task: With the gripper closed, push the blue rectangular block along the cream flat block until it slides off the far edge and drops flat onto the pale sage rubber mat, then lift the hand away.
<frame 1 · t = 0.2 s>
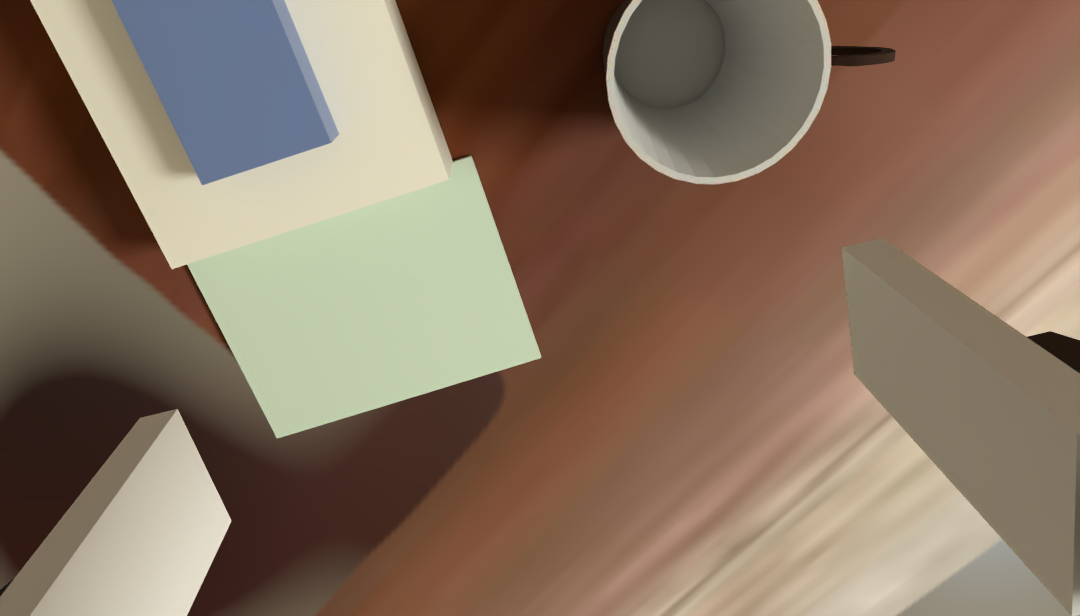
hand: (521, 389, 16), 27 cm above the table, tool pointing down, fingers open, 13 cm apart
coffee mug: (692, 61, 40), on the table
cream flat block: (258, 48, 39), on the table
blue rectangular block: (233, 56, 35), point 4 cm above the table, touching cream flat block
mat: (368, 304, 44), on the table
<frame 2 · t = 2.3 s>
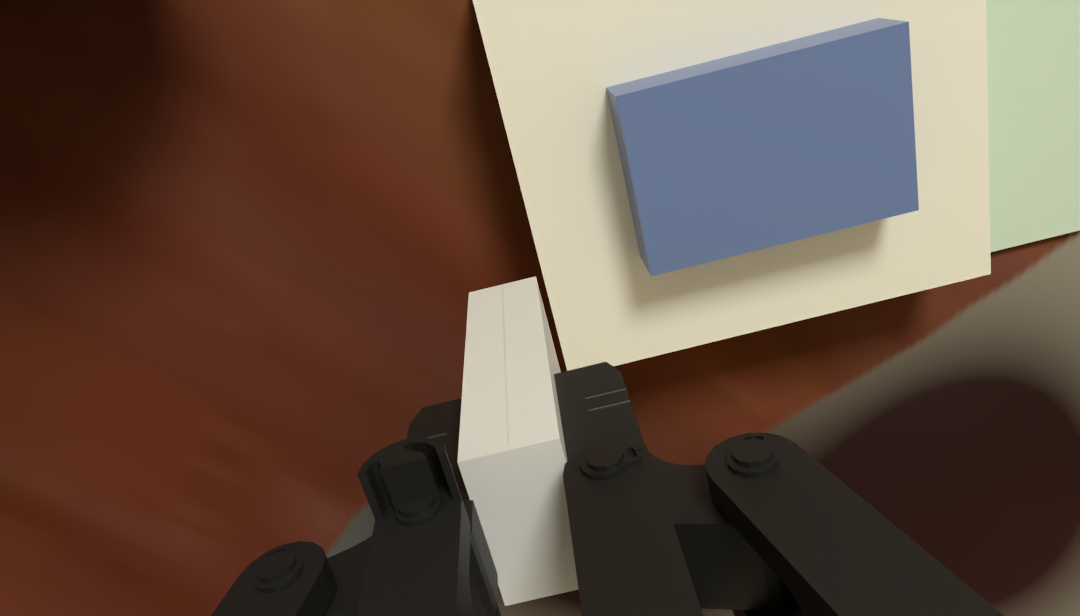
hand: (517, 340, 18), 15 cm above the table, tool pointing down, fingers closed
cream flat block: (721, 122, 31), on the table
blue rectangular block: (753, 143, 27), point 4 cm above the table, touching cream flat block
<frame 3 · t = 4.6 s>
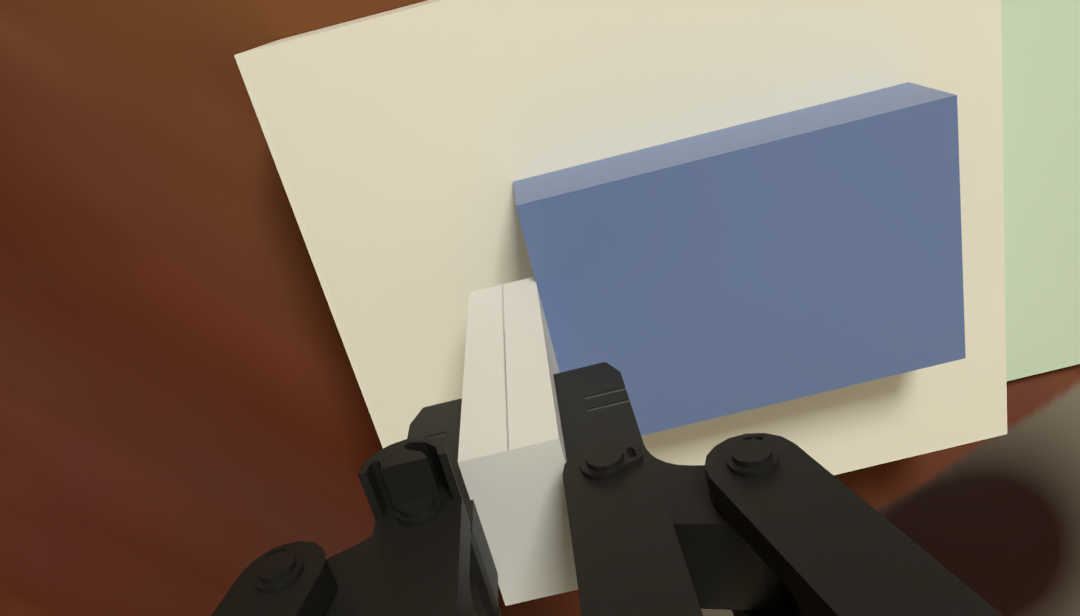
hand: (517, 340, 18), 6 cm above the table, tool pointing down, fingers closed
cream flat block: (640, 220, 23), on the table
blue rectangular block: (728, 255, 19), point 4 cm above the table, touching cream flat block, gripper
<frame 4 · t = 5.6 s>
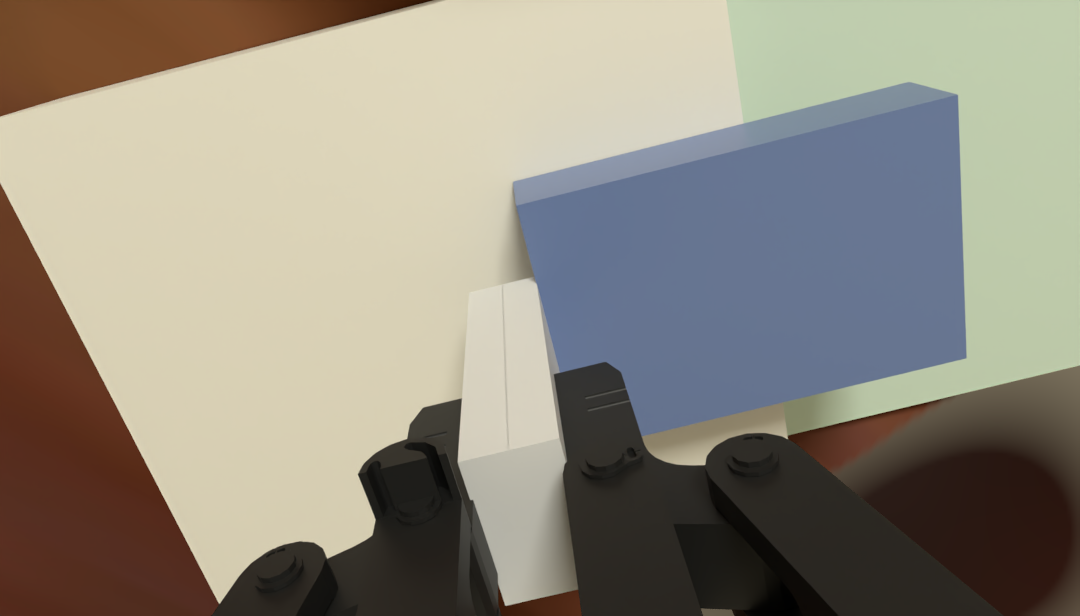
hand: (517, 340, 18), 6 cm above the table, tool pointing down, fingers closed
cream flat block: (442, 271, 23), on the table
blue rectangular block: (728, 256, 19), point 4 cm above the table, touching gripper
mat: (926, 149, 23), on the table
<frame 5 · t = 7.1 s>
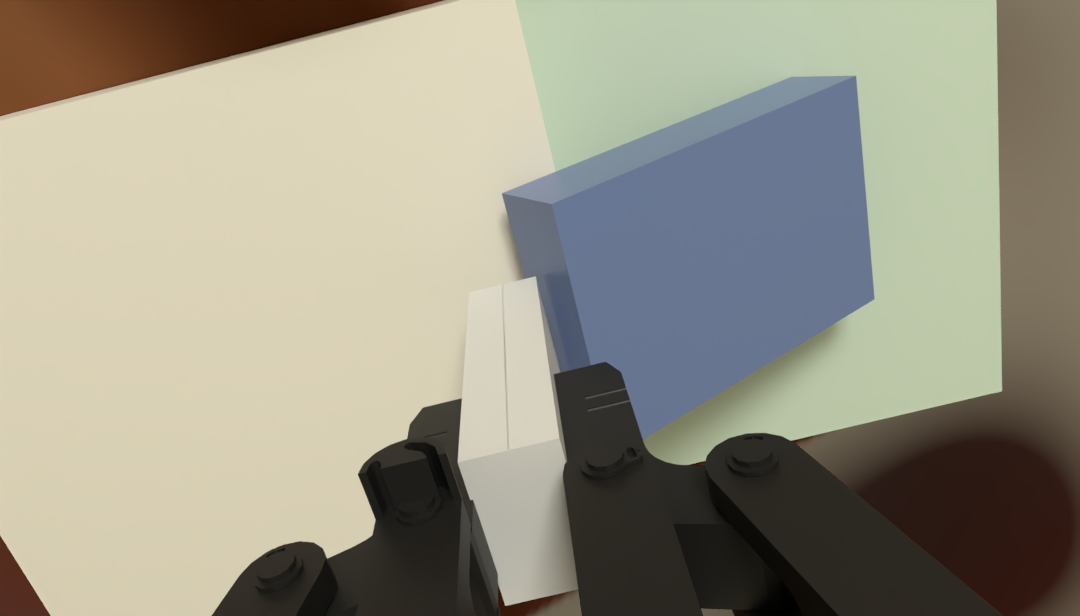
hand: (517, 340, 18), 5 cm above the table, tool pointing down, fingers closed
cream flat block: (297, 310, 23), on the table
blue rectangular block: (681, 245, 20), point 2 cm above the table, tilted 29°, touching cream flat block, gripper, mat
mat: (778, 191, 23), on the table
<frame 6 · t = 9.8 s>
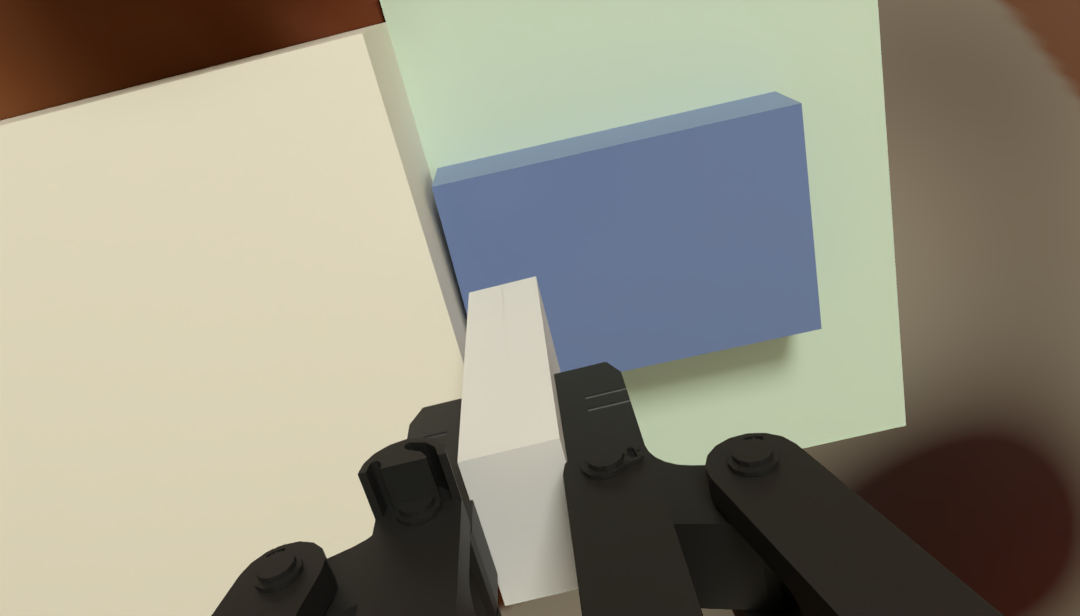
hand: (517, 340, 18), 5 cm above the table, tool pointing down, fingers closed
cream flat block: (193, 341, 23), on the table
blue rectangular block: (624, 237, 22), resting on mat
mat: (670, 227, 23), on the table
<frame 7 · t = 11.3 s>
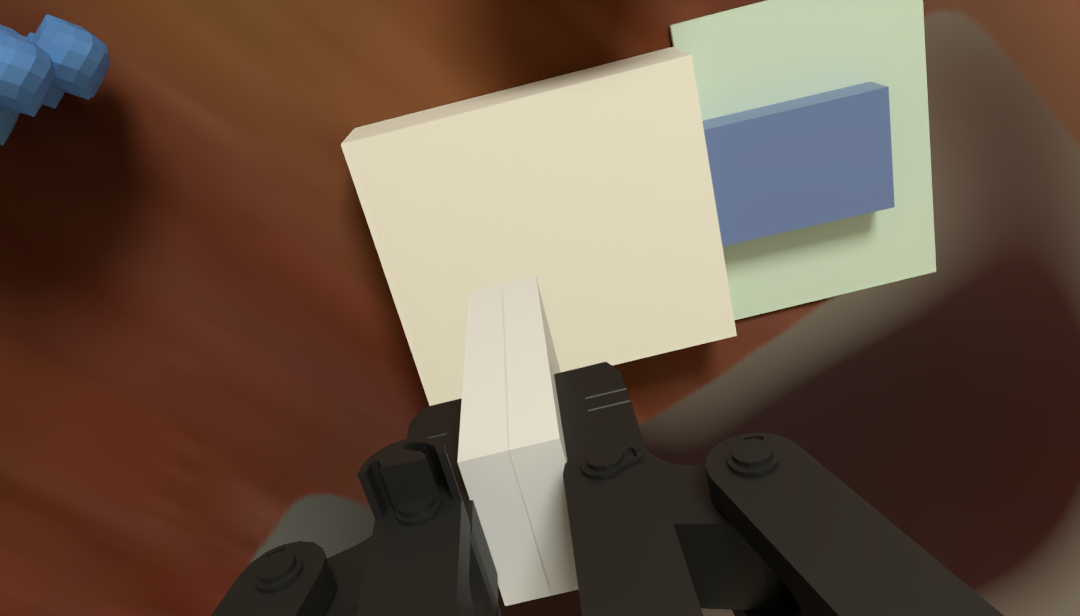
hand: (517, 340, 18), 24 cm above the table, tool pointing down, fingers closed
cream flat block: (545, 221, 42), on the table
blue rectangular block: (786, 160, 41), resting on mat
mat: (810, 155, 42), on the table
grapes: (39, 49, 38), on the table
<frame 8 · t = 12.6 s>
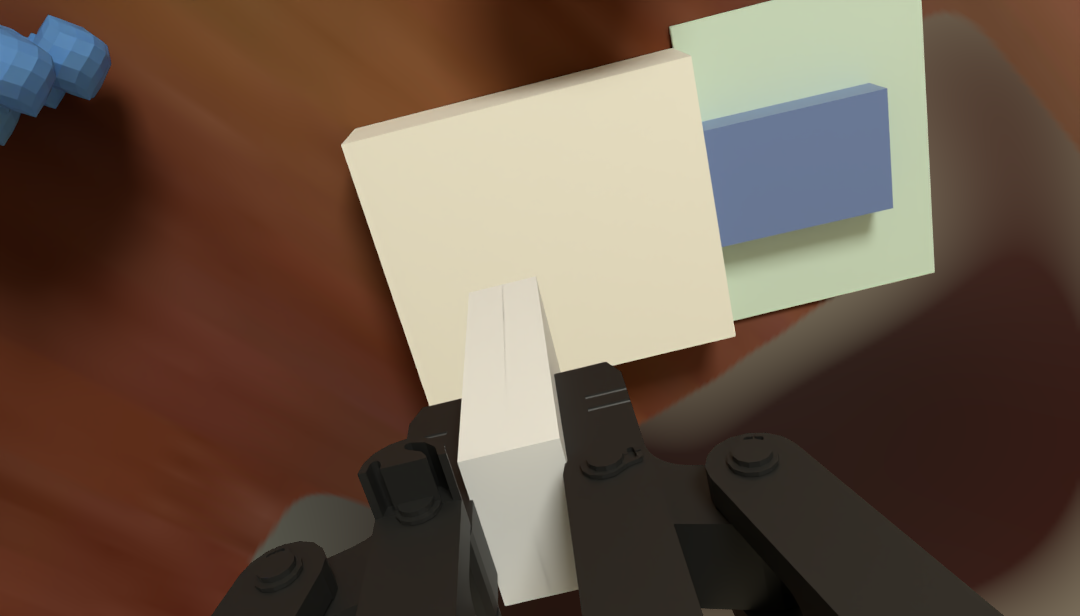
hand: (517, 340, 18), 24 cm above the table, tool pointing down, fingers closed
cream flat block: (545, 222, 42), on the table
blue rectangular block: (785, 161, 41), resting on mat
mat: (809, 156, 42), on the table
grapes: (40, 49, 38), on the table
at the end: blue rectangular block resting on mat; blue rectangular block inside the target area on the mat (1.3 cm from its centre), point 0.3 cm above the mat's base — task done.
